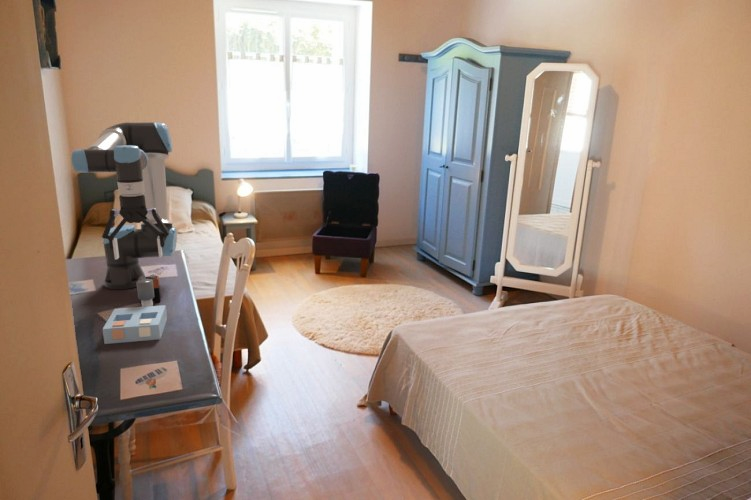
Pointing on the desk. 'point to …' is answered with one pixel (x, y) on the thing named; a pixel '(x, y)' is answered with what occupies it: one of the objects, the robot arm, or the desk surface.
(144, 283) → the grey piece
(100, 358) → the desk surface
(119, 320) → the socket board
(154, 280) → the battery
